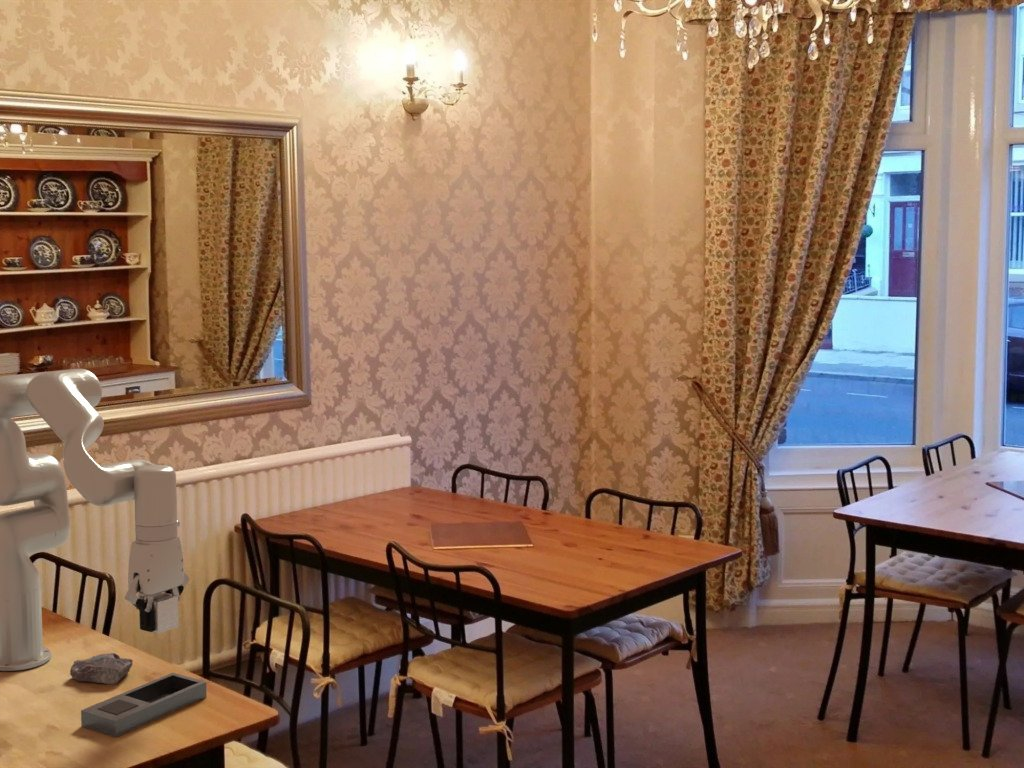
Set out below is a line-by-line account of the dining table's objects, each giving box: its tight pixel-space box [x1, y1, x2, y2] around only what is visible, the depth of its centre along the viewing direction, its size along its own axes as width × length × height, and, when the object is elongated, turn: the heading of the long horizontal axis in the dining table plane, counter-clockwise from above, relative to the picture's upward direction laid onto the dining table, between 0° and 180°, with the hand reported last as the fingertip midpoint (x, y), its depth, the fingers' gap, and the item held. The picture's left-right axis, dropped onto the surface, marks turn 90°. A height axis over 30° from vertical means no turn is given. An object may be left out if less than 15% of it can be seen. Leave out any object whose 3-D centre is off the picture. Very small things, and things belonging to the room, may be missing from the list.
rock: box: [69, 652, 133, 685], centre depth 235 cm, size 8×11×5 cm
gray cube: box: [138, 592, 180, 635], centre depth 220 cm, size 5×5×6 cm
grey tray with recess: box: [80, 672, 207, 738], centre depth 219 cm, size 9×22×3 cm, turn 150°
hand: (158, 625), depth 220 cm, fingers closed on gray cube, 5 cm apart
